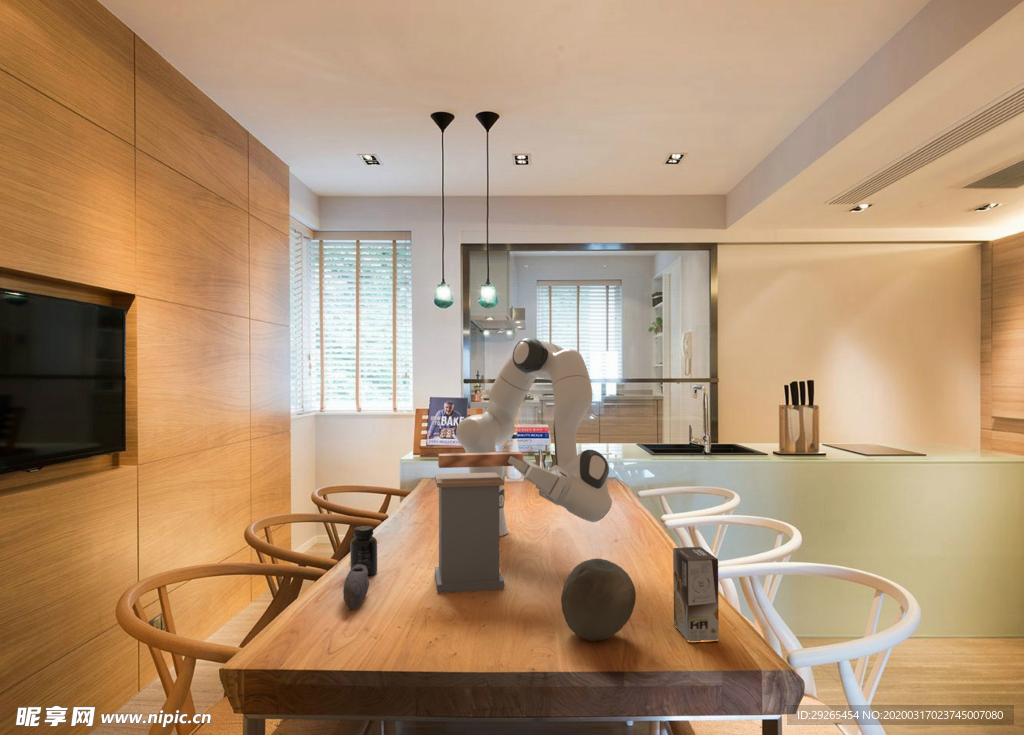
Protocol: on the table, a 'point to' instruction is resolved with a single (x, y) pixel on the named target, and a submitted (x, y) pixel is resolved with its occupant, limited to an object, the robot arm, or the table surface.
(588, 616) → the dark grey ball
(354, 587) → the perforated stone tool
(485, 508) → the stand
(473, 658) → the table surface
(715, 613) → the coffee box
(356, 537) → the supplement bottle
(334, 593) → the table surface
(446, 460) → the bar
